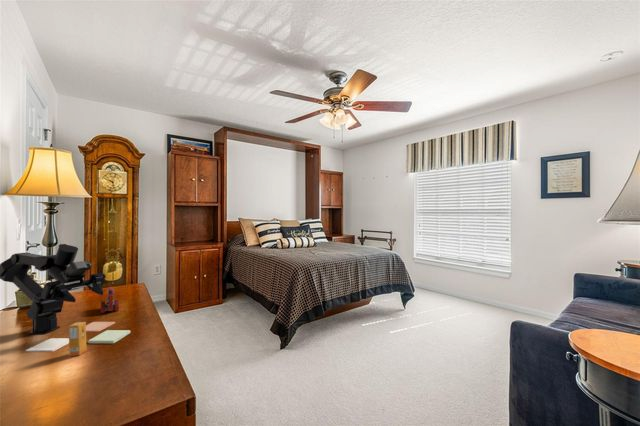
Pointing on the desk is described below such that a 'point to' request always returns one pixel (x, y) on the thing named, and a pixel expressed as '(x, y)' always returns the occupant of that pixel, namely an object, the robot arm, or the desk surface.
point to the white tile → (50, 345)
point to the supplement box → (77, 338)
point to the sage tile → (109, 336)
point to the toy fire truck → (110, 302)
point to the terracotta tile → (97, 326)
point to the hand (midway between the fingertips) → (89, 297)
